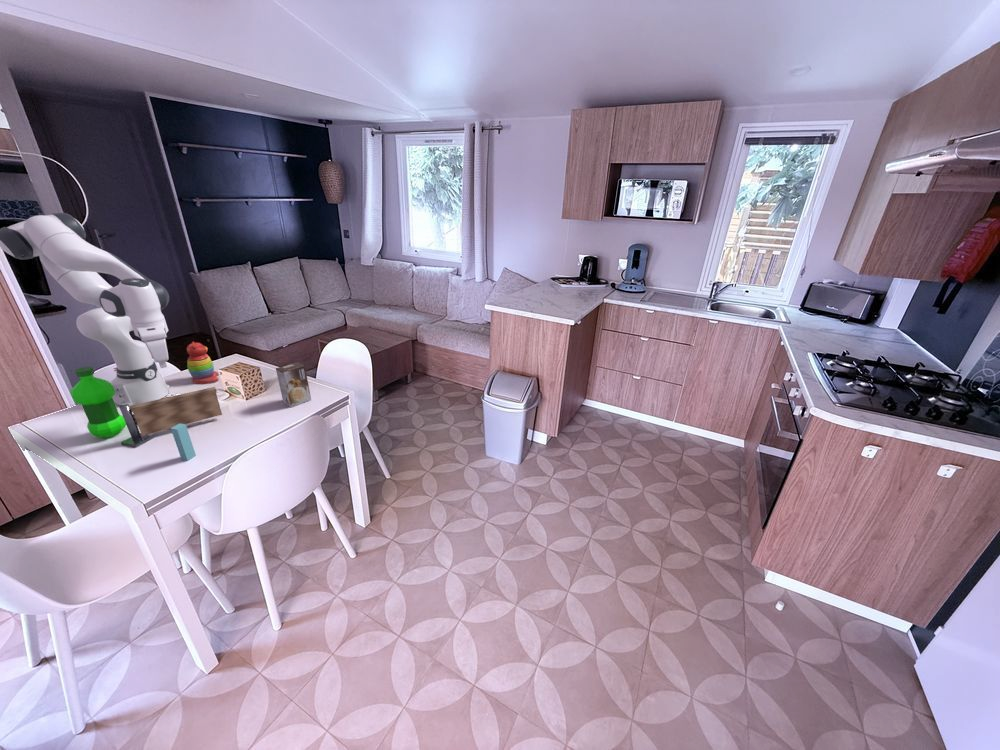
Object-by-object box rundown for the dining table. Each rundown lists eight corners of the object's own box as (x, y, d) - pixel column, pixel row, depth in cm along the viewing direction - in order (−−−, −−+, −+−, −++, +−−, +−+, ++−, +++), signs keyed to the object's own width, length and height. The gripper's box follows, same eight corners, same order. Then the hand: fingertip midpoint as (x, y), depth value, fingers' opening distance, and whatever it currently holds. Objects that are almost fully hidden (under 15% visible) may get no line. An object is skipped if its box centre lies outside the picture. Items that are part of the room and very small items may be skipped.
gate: (141, 436, 137) (130, 408, 132) (140, 433, 138) (129, 405, 134) (223, 414, 152) (215, 389, 147) (221, 412, 153) (214, 386, 149)
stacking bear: (218, 382, 180) (208, 345, 173) (191, 386, 175) (179, 348, 168) (218, 373, 189) (209, 337, 181) (192, 377, 184) (181, 340, 176)
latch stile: (181, 459, 130) (170, 428, 125) (189, 454, 132) (179, 423, 127) (187, 460, 129) (176, 429, 124) (196, 455, 132) (185, 424, 127)
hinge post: (121, 444, 135) (106, 408, 130) (139, 435, 141) (126, 400, 135) (136, 447, 134) (121, 411, 128) (153, 437, 140) (140, 402, 134)
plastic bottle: (84, 443, 135) (52, 377, 124) (102, 427, 144) (75, 364, 134) (119, 440, 137) (92, 374, 127) (136, 424, 147) (111, 362, 136)
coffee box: (303, 395, 173) (297, 361, 166) (311, 400, 169) (305, 365, 163) (282, 403, 166) (275, 367, 159) (290, 408, 162) (283, 372, 156)
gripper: (136, 321, 139) (148, 358, 145) (140, 337, 126) (154, 377, 131) (159, 319, 143) (170, 354, 149) (166, 334, 130) (178, 372, 135)
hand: (163, 365), depth 140 cm, fingers open, 2 cm apart
